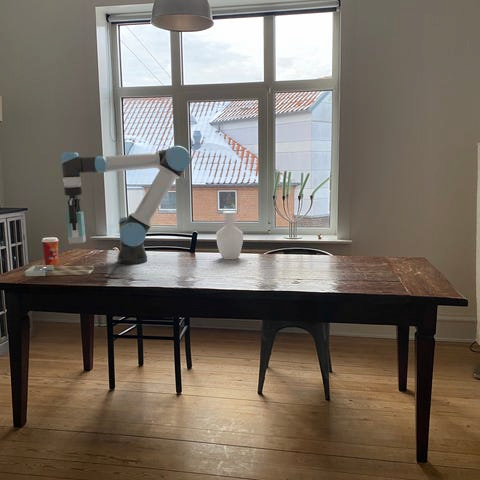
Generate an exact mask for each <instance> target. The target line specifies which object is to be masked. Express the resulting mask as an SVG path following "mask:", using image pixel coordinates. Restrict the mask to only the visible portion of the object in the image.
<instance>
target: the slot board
mask: <svg viewBox="0 0 480 480" xmlns="http://www.w3.org/2000/svg"><path fill="white" fill-rule="evenodd" d="M94 270H95V266H94V265H75V266H74V265H73V266H71V265H69V266H66V265H64V266H53V270H46V271H47V272H46V276H73V275H74V276H76V275H77V276H78V275H79V276H80V275H82V276H83V275H84V276H85V275H87V276H88V275H90V274H91V273H92V272H93V271H94Z"/></svg>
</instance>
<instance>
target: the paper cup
mask: <svg viewBox="0 0 480 480" xmlns="http://www.w3.org/2000/svg"><path fill="white" fill-rule="evenodd" d="M41 242H42V243H41V244H42V249H43V257H44V258H43V259H44V265H53V267H56V266H58V265H59V239H58V237H43V238H42V240H41Z"/></svg>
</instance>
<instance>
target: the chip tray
mask: <svg viewBox="0 0 480 480" xmlns="http://www.w3.org/2000/svg"><path fill="white" fill-rule="evenodd" d="M39 266H46V271H54V268H53V267H54V266H53V265H45V264H44V265H41V264H40V265H33V266H31V267H29V268H28V269H26V270H25V271H24V277H40V276H41V277H45V276H47V272H45V270H44V271H34V270H33V269H36V268H37V267H39Z"/></svg>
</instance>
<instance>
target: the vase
mask: <svg viewBox="0 0 480 480" xmlns="http://www.w3.org/2000/svg"><path fill="white" fill-rule="evenodd" d="M237 214H238V212H237V211H235V210H234V211H233V210H231V211H230V210H229V211H228V210H225V211H222V215H223V219H224V222H225V225H224V226H223V227H221V228H220V229H219V230H217V231H216V234H215V235H216V236H215V237H216V244H217V249H218V251H219V254H220V255H221V258H222V259H223V258H224V260H229V259H232V260H237V258H238V259H239V257H240V255H241V252H242V247H243V244H244V231H242V230H241V229H240V228H238V227H237V226H236V225H235V220H236V217H237Z"/></svg>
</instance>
